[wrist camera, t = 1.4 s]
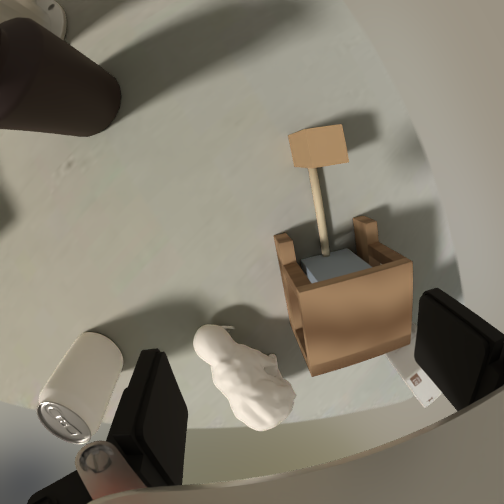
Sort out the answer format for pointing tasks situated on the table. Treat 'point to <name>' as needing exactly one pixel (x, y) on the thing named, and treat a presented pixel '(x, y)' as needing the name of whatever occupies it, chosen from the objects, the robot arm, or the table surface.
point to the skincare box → (413, 371)
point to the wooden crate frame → (349, 304)
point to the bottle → (51, 84)
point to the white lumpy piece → (245, 378)
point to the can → (80, 388)
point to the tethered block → (313, 156)
